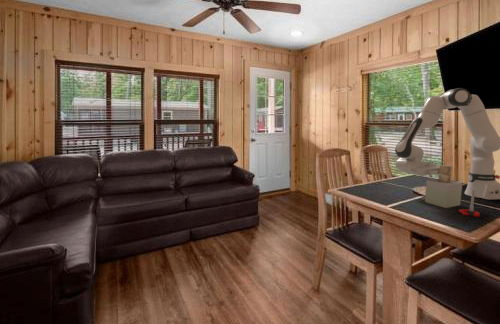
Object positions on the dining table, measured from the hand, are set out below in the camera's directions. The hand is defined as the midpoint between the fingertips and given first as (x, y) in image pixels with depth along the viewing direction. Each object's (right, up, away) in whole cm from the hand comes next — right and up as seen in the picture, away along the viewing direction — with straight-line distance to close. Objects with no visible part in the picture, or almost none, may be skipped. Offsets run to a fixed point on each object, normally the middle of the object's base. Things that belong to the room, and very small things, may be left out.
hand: (443, 172), depth 157 cm
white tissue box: (+1, -18, +2) cm, 18 cm away
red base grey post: (+3, -21, -14) cm, 25 cm away
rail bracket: (0, -9, +1) cm, 9 cm away
